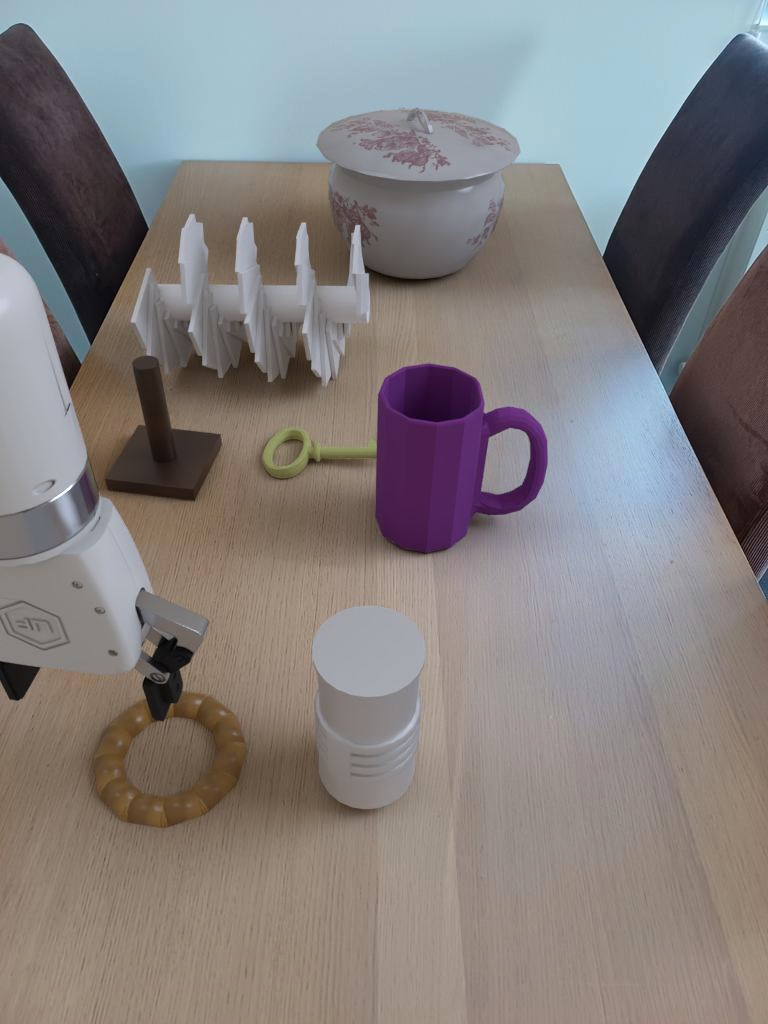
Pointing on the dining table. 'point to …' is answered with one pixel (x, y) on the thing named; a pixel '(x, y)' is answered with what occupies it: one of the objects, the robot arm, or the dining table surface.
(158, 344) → the spiral staircase
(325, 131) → the chamber pot
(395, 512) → the mug
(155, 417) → the peg stand
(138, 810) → the ring
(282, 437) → the key
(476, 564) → the dining table surface
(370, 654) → the white lidded bottle
